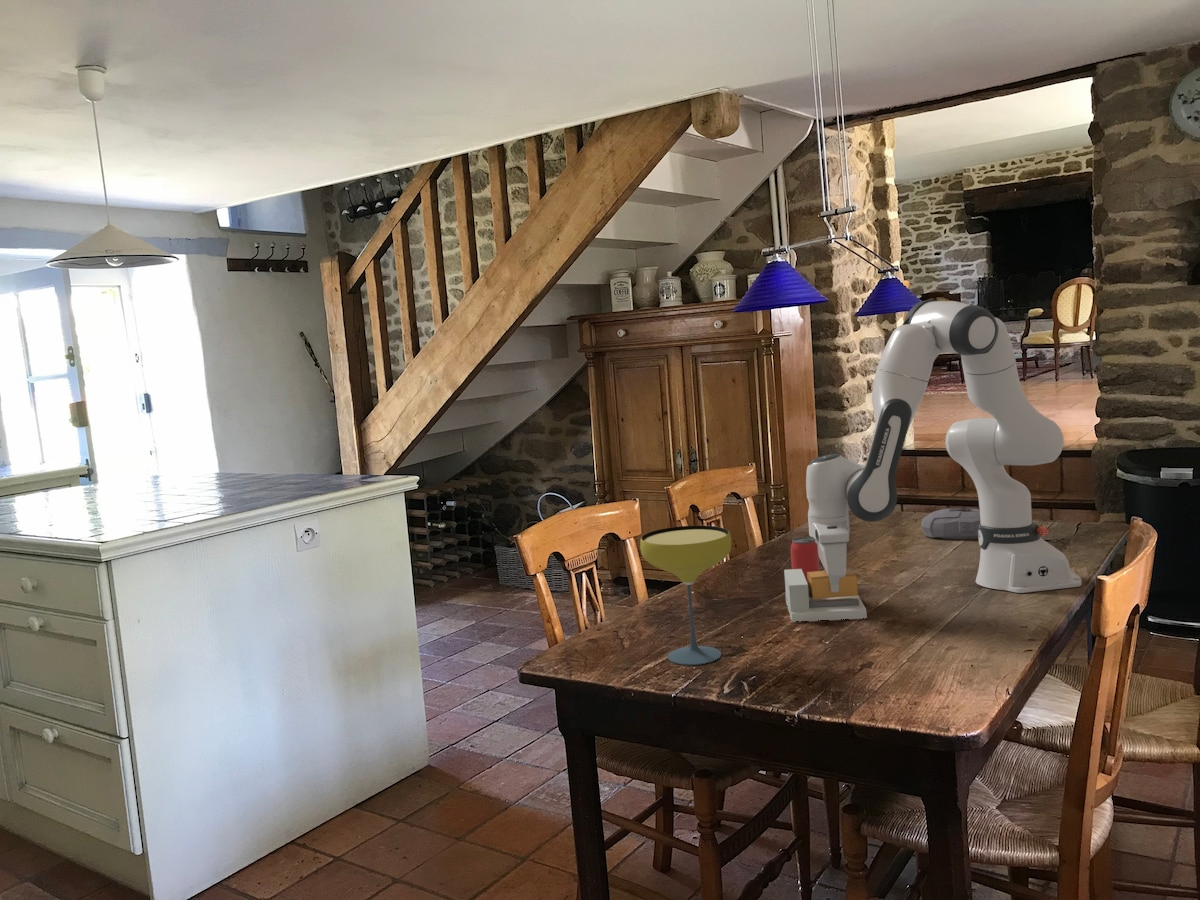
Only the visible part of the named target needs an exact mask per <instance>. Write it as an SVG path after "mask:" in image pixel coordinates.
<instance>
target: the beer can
mask: <svg viewBox="0 0 1200 900" xmlns="http://www.w3.org/2000/svg"><path fill="white" fill-rule="evenodd" d="M791 541H792V543H791V545H790V559H791V561H790V563H791V569H802V571H803V574H804V576H805V579H806V581H807V584H808V579H807V572H815V571H820V558H819V555H818V544H817V543H816V542H815V538H813V537H811V536H807V537H806V536H805V537H804V536H803V537H802V536H801V537H796V538H792V540H791Z"/></svg>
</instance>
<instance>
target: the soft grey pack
mask: <svg viewBox="0 0 1200 900" xmlns="http://www.w3.org/2000/svg"><path fill="white" fill-rule="evenodd" d="M979 523H980V508H973V507H972V506H970V507H966V506H963V507H961V506H960V507H949V508H942V509H939V510H935V511H931V512H930V513H929V514H927V515H925V517H922V519H921V524H920V525H921V528H922V529H923V533H924V536H925V537H928V538H933V539H934V538H935V539H940V538H941V539H942V540H952V539H954V540H957V541H962V540H966V541H967V540H971V541H972V540H979V537H978V530H979ZM941 539H940V540H941ZM954 540H953V541H954Z"/></svg>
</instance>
